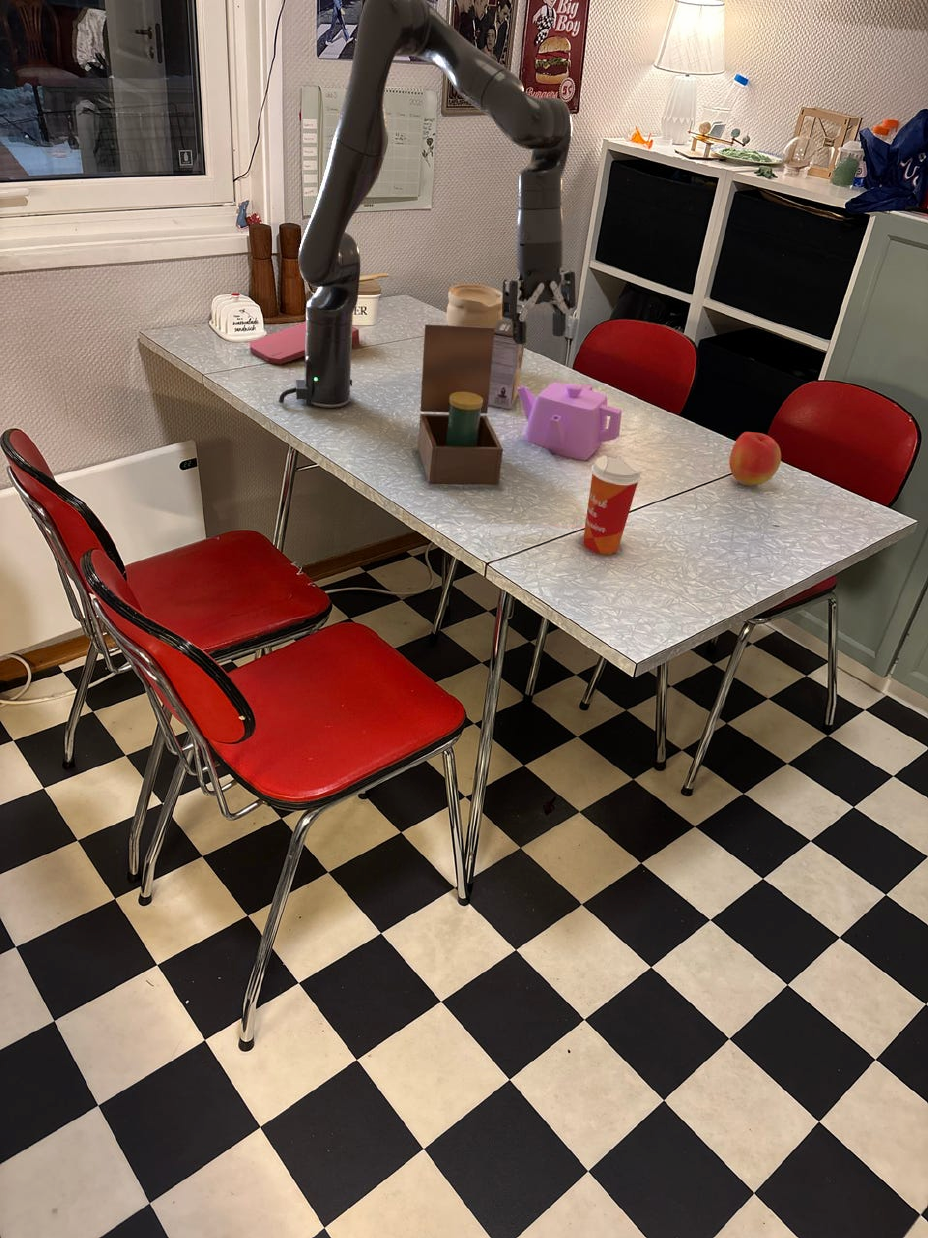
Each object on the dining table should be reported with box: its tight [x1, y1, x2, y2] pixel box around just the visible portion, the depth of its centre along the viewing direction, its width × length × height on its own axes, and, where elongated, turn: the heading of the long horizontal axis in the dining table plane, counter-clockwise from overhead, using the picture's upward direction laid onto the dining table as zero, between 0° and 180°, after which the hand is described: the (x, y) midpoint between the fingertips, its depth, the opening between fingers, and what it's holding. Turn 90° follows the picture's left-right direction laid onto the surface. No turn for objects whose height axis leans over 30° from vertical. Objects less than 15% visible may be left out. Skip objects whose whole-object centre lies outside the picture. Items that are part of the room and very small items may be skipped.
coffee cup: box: [582, 454, 643, 555], centre depth 156 cm, size 8×8×15 cm
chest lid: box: [419, 323, 495, 414], centre depth 176 cm, size 16×13×1 cm
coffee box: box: [488, 320, 528, 410], centre depth 204 cm, size 9×6×16 cm
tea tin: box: [446, 392, 483, 447], centre depth 172 cm, size 6×6×14 cm
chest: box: [417, 413, 504, 486], centre depth 176 cm, size 15×13×8 cm
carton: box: [249, 321, 361, 365], centre depth 221 cm, size 12×5×25 cm
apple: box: [728, 431, 782, 487], centre depth 184 cm, size 10×10×10 cm
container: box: [445, 283, 503, 328], centre depth 216 cm, size 13×13×18 cm
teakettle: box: [517, 381, 623, 461], centre depth 190 cm, size 17×17×12 cm
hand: (539, 339), depth 161 cm, fingers open, 8 cm apart
